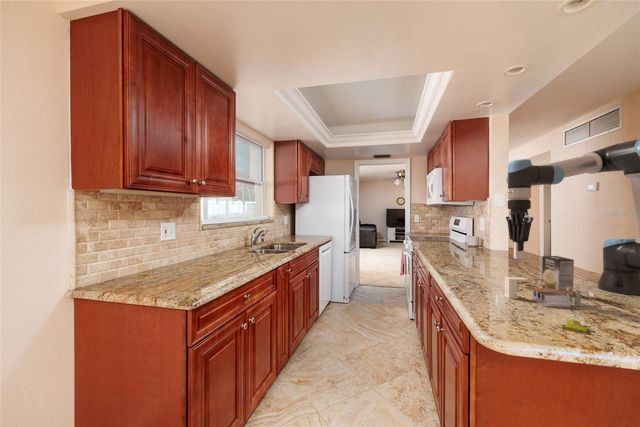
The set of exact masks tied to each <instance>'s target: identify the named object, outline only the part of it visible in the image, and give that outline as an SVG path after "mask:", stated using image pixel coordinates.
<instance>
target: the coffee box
mask: <svg viewBox="0 0 640 427" xmlns="http://www.w3.org/2000/svg"><path fill="white" fill-rule="evenodd" d="M541 257H542V261H541V264H542V265H541V266H542V267H541V268H542V269H541V270H542V271H541V288H546V289H558V290H567V287H571V288H572V290H573V291H574V269H575V268H574V267H575V264H574V262H575V260H574V259H572V258H567V257H563V256H559V255H542V256H541ZM560 294H565V295H566V296H567V293H560ZM573 296H574V294H572V297H573Z"/></svg>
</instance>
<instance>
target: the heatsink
mask: <svg viewBox="0 0 640 427" xmlns="http://www.w3.org/2000/svg"><path fill="white" fill-rule="evenodd" d="M531 293H532V294H531V300H532V301H533V302H535V303H537V304H540V305H542V306H544V307H546V308H571V306H572V305H571V304H572V303H571V302H570V296H566V295H565V294H560V293H557V292H545V291H531Z"/></svg>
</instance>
